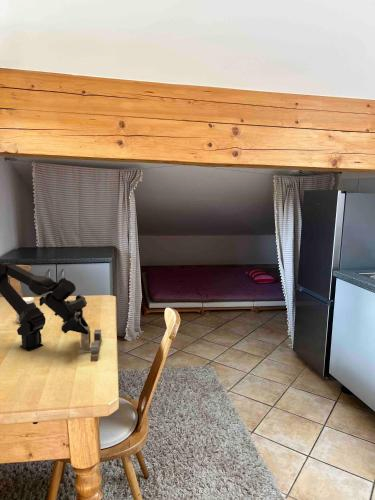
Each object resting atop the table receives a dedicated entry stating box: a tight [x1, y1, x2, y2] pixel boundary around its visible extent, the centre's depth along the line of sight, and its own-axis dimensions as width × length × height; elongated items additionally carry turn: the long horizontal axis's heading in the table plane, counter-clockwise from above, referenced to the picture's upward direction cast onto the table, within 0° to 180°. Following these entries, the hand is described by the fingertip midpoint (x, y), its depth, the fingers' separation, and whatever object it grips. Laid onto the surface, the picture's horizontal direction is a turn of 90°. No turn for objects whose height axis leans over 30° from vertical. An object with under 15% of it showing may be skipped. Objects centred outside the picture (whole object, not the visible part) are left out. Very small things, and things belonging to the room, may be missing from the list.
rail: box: [77, 328, 102, 362], centre depth 136 cm, size 20×8×5 cm, turn 10°
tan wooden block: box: [80, 325, 92, 351], centre depth 135 cm, size 3×3×9 cm
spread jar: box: [15, 296, 43, 326], centre depth 163 cm, size 12×11×12 cm
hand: (88, 331), depth 135 cm, fingers open, 4 cm apart
